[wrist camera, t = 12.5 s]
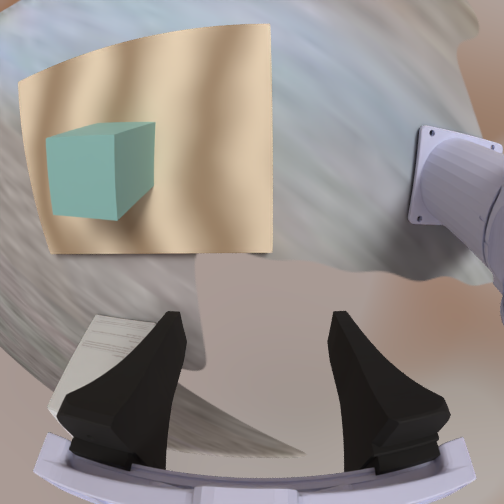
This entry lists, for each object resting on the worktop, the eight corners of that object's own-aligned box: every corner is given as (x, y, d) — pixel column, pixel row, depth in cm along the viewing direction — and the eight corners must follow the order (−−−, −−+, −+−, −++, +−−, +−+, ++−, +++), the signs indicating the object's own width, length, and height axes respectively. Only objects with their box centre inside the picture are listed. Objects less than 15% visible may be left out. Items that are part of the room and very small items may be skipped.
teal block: (155, 121, 17) (114, 134, 12) (153, 185, 19) (117, 220, 14) (97, 123, 17) (45, 138, 12) (99, 182, 19) (53, 214, 14)
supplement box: (111, 357, 31) (75, 443, 20) (95, 311, 28) (43, 406, 17) (167, 367, 31) (142, 463, 20) (158, 321, 28) (120, 432, 17)
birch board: (269, 29, 15) (270, 23, 14) (271, 243, 23) (272, 252, 22) (29, 80, 16) (18, 82, 15) (58, 246, 24) (50, 254, 22)
